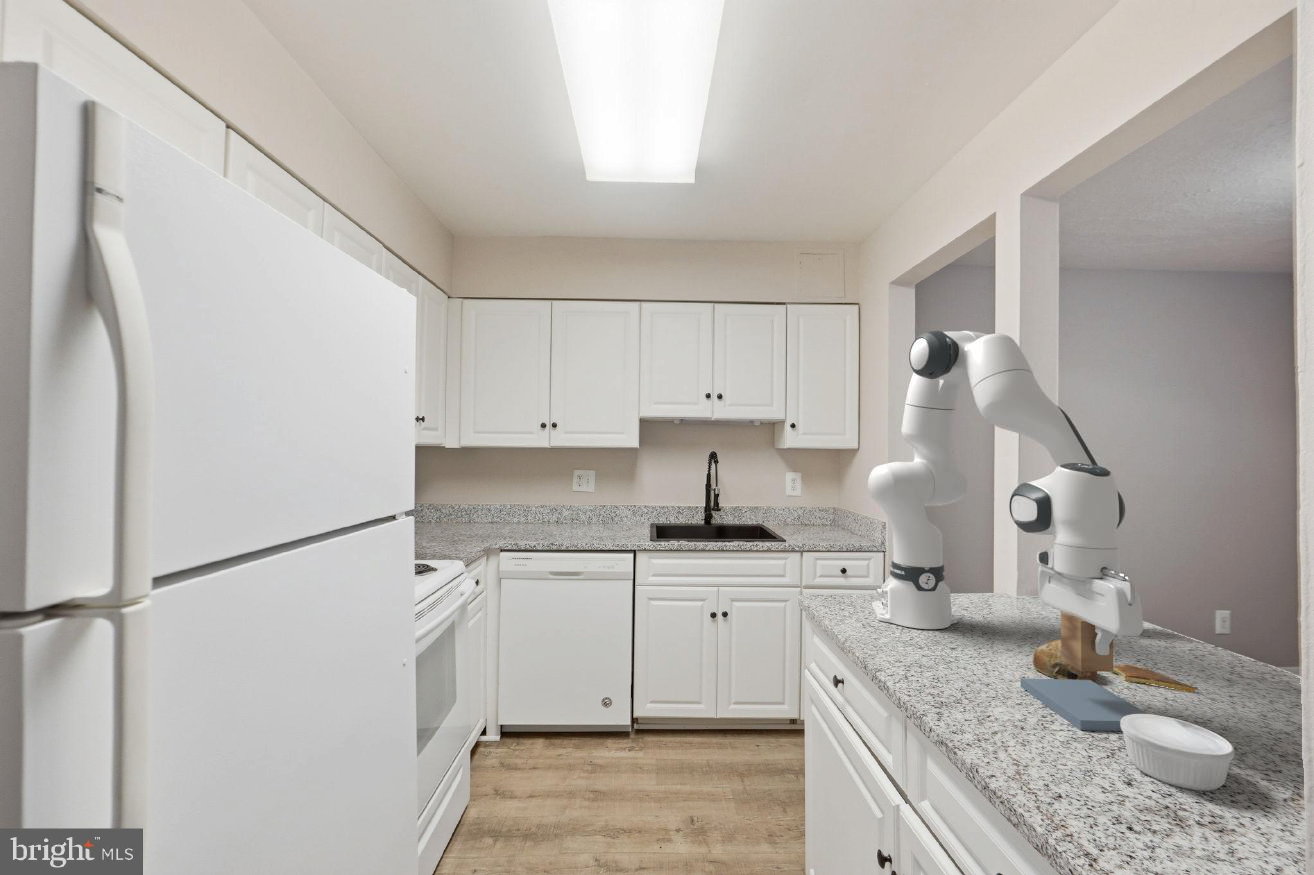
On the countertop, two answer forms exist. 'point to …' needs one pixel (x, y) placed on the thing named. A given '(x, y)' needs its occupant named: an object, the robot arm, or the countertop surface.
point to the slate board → (1082, 702)
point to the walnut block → (1082, 645)
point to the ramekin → (1177, 751)
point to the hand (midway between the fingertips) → (1086, 646)
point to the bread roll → (1058, 663)
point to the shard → (1149, 677)
